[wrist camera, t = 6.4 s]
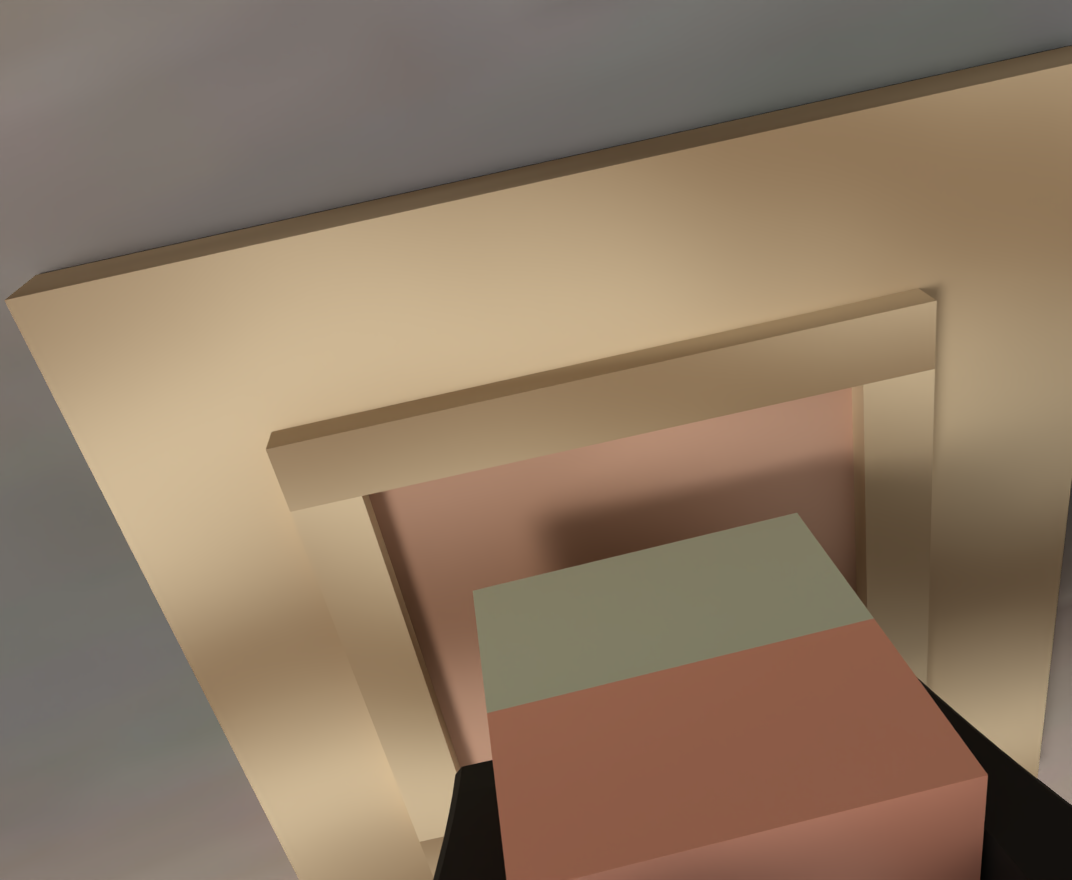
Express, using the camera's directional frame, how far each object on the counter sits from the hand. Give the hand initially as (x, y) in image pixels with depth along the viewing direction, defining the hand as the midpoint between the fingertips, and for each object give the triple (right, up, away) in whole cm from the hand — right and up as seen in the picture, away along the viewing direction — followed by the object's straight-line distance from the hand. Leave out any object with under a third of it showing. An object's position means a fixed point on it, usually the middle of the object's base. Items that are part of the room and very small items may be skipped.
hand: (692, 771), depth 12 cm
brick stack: (0, +1, +1) cm, 2 cm away
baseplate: (0, +2, +4) cm, 4 cm away
